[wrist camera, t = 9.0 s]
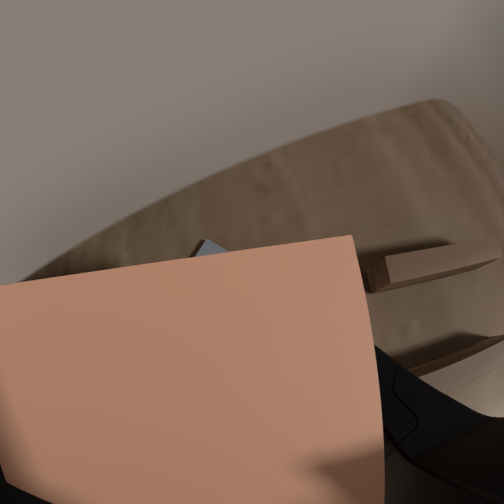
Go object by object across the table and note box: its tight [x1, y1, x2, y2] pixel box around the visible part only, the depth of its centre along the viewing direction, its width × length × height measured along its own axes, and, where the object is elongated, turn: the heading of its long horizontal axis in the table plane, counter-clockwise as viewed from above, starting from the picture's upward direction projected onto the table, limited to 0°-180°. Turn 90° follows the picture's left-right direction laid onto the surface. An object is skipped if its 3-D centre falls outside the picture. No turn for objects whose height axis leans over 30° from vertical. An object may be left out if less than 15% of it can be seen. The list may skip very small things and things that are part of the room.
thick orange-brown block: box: [0, 235, 385, 504], centre depth 8 cm, size 4×6×12 cm, turn 98°
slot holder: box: [366, 236, 504, 393], centre depth 14 cm, size 8×9×3 cm
